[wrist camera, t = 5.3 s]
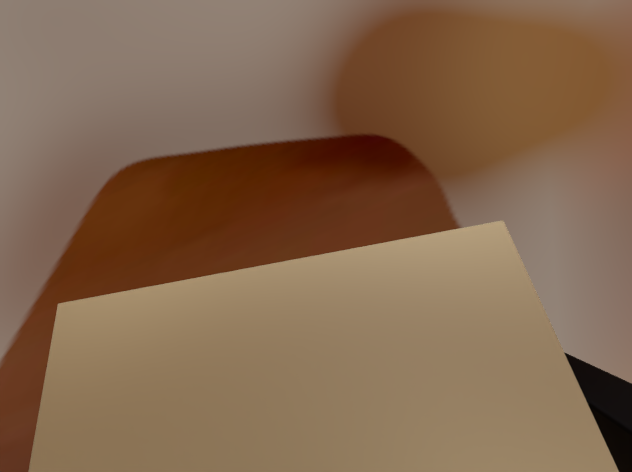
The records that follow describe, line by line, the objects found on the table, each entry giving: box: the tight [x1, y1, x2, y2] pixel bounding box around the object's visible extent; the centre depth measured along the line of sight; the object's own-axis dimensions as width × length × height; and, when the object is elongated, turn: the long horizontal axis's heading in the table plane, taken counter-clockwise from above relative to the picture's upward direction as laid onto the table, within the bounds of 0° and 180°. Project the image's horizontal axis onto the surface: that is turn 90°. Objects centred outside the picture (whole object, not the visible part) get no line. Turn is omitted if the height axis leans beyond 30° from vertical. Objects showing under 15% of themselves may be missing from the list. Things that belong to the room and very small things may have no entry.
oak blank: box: [29, 221, 619, 472], centre depth 8 cm, size 5×5×12 cm
